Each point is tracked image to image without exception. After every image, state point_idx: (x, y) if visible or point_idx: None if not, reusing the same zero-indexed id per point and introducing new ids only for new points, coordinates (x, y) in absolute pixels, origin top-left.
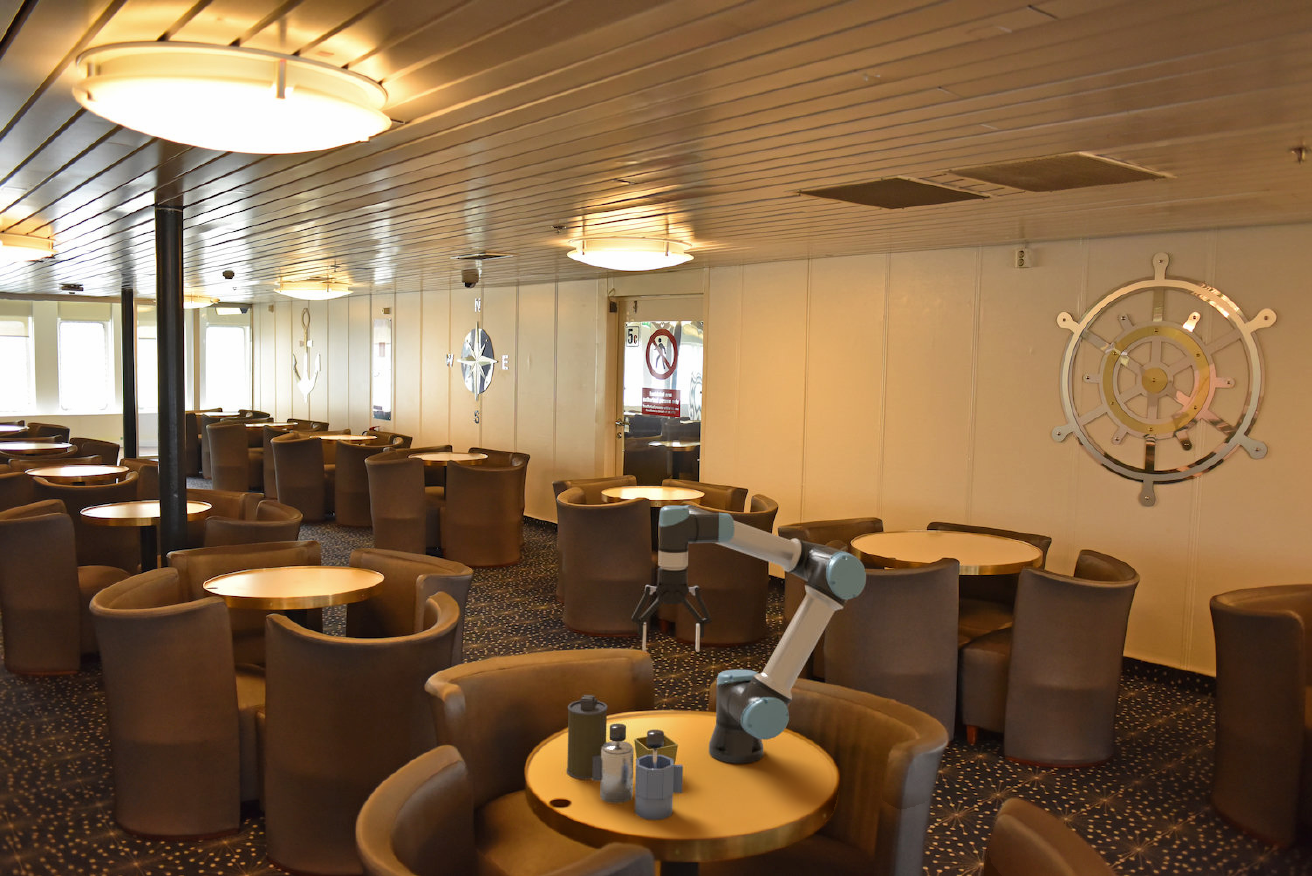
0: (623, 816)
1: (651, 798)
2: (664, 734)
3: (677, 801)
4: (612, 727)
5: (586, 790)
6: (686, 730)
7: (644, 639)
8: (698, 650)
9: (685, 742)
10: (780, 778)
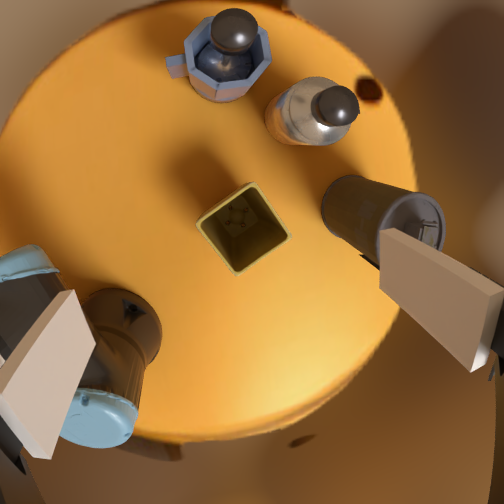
0: None
1: None
2: (231, 271)
3: (184, 116)
4: (351, 97)
5: None
6: (212, 389)
7: (427, 249)
8: (61, 293)
9: (205, 351)
10: None
